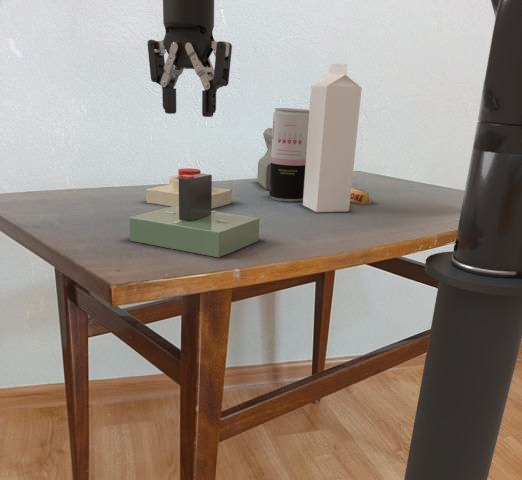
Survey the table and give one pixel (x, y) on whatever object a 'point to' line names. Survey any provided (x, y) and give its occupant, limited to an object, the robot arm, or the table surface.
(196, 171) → the power button
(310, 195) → the milk
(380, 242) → the table surface
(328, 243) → the table surface
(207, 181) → the dark grey square slab
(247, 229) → the green flat block
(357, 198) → the chocolate bar
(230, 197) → the base
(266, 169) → the grey irregular figure
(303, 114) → the beverage can
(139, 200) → the table surface
